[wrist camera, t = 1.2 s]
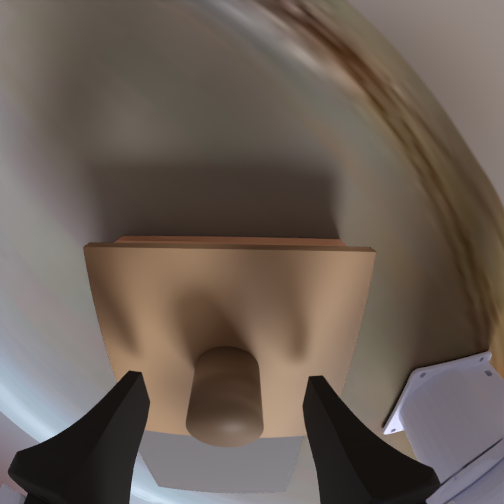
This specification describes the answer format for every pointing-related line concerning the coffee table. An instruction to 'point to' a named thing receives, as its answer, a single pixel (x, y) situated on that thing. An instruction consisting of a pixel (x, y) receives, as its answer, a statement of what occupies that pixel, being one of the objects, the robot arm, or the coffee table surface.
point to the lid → (229, 329)
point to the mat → (219, 463)
